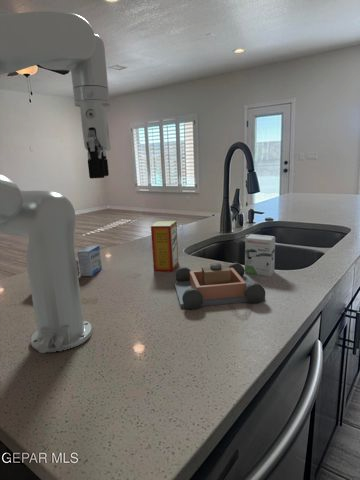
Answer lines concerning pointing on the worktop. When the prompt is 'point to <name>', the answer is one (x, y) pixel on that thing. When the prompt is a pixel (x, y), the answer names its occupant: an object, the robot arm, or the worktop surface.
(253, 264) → the ink box
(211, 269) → the tan block
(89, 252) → the medicine box
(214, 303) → the chassis
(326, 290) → the worktop surface
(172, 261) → the baking soda box
